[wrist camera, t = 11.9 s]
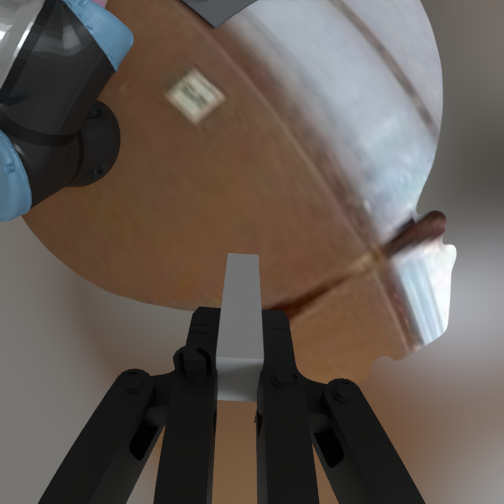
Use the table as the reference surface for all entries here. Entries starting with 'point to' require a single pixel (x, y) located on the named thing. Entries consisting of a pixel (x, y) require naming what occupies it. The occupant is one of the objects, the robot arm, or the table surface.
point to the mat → (218, 9)
